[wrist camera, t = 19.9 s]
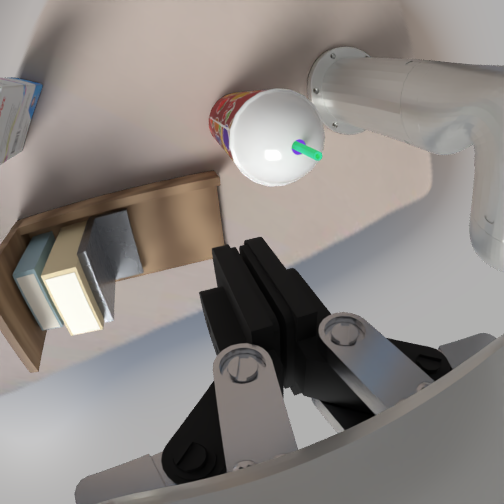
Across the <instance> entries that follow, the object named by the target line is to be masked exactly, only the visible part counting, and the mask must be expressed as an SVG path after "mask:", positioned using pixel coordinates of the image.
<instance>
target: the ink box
mask: <svg viewBox="0 0 504 504" xmlns="http://www.w3.org/2000/svg"><path fill="white" fill-rule="evenodd" d="M42 87H43V85H42V84H40V83H37V82H32V81H28V80H24V79H19V78H0V165H1V164H2V163H4V162H6V161H7V160H9V159H10V158H12V157H13V156H15V155H17V154H18V153H20V152H21V151H22V150H23V146H24V142H25V139H26V135H27V132H28V128H29V125H30V122H31V119H32V116H33V113H34V110H35V107H36V104H37V101H38V98H39V95H40V93H41V90H42Z"/></svg>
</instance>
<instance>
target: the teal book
mask: <svg viewBox="0 0 504 504" xmlns="http://www.w3.org/2000/svg"><path fill="white" fill-rule="evenodd" d="M55 241H56V240H55V237H54V235H53V232H52V231H50V232H47V233H43V234H40V235H37V236H33V237H32V239H31V241H30V243H29V244H28V246H27V248H26V250H25V252H24V253H23V255H22V257H21V259H20V261H19V263H18V265H17V267H16V269H15V271H14V273H13V275H12V276H13V278H14V280H15V282H16V284H17V286H18V288H19V290H20V292H21V294H22V296H23V297H24V299H25V301H26V303H27V305H28V307H29V309H30V310H31V312H32V314H33V316H34V318H35V319H36V321H37V323H38V324H39V326H40V328H41V330H42V331H44V330H49V329H54V328H58V327H63V324H64V322H63V320H62V318H61V316H60V314H59V312H58V310H57V309H56V307H55V305H54V303H53V301H52V299H51V297H50V295H49V293H48V291H47V289H46V286H45V284H44V282H43V280H42V278H41V274H42V271H43V269H44V266H45V264H46V262H47V259H48V257H49V254H50V252H51V250H52V247H53V245H54V243H55Z"/></svg>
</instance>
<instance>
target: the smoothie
mask: <svg viewBox="0 0 504 504" xmlns="http://www.w3.org/2000/svg"><path fill="white" fill-rule="evenodd" d="M209 128H210V131H211V134H212V136H213V137H214V138H215V139H216V141H217V142H218V143H219V144H220V145H221V147H222V148H223V149H224V150H225V151H226V153H227V154H228V155H229V156H230V157H231V159H232V160H233V161H234V163H235V164H236V166H237V167H238V168H239V170H240V171H241V173H242V174H243V175H245V176H246V177H247V178H249V179H250V180H252V181H253V182H255V183H258V184H262V185H265V186H268V187H269V186H284V185H287V184H289V183H292V182H295V181H297V180H299V179H300V178H302V177H303V176H305V175H306V174H307V173H309V172H310V171H311V170H312V169H313V168H314V167H315V165H316V164H317V163H318V161H319V160H321V159H322V152H323V150H324V142H325V134H324V128H323V123H322V118H321V116H320V114H319V112H318V110H317V109H316V107H315V105H314V104H313V103H312V102H311V101H310V100H308V99H307V98H306V97H305V96H304V95H302V94H300V93H298V92H295V91H293V90H291V89H280V88H274V89H270V90H257V91H246V92H237V93H231V94H228V95H226V96H224V97H222V98H221V99H220V100H218V101H217V102H216V104H215V105H214V106H213V108H212V110H211V113H210V116H209Z"/></svg>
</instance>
